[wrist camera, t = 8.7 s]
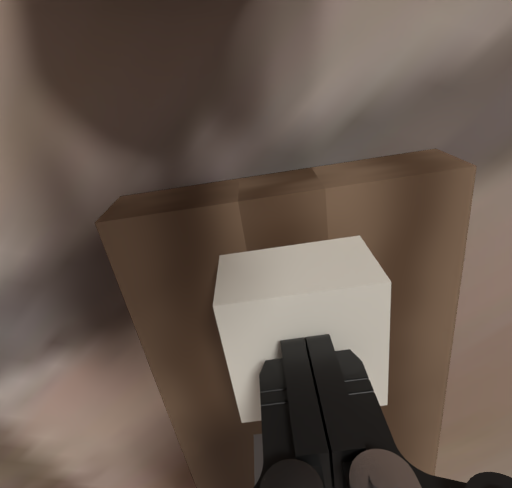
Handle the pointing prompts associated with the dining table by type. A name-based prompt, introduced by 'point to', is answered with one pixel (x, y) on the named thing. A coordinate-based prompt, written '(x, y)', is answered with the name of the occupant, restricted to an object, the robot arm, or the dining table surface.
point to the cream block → (301, 309)
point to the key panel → (284, 234)
